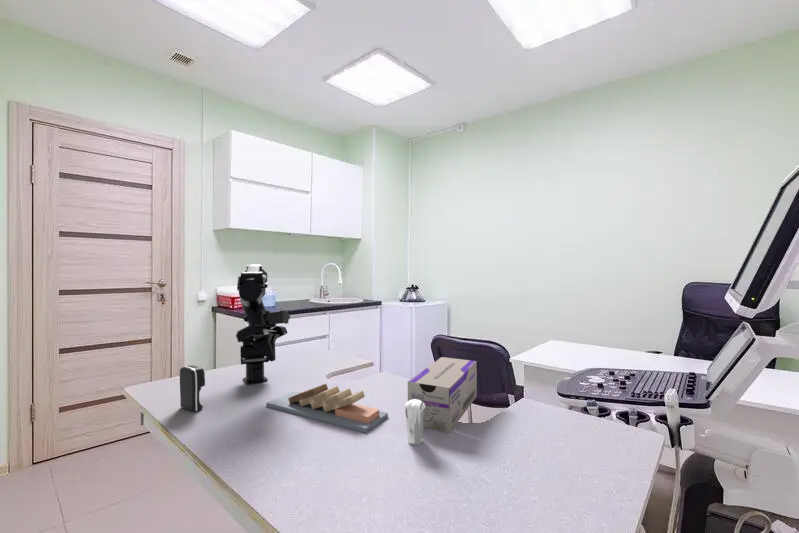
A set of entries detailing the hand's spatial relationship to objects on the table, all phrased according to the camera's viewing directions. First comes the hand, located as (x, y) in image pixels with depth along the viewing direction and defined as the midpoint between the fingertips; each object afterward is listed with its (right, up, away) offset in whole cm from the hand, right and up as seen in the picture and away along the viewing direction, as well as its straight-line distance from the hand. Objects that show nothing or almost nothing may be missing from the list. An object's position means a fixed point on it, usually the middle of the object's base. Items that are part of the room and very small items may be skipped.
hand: (273, 360), depth 108 cm
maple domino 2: (+14, -10, -7) cm, 18 cm away
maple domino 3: (+18, -10, -9) cm, 22 cm away
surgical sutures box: (+48, -12, -6) cm, 50 cm away
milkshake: (+40, -12, -25) cm, 48 cm away
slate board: (+16, -12, -8) cm, 21 cm away
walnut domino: (+7, -10, -3) cm, 12 cm away
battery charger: (-20, -12, -5) cm, 24 cm away
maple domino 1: (+11, -10, -5) cm, 15 cm away
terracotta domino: (+21, -10, -10) cm, 25 cm away
